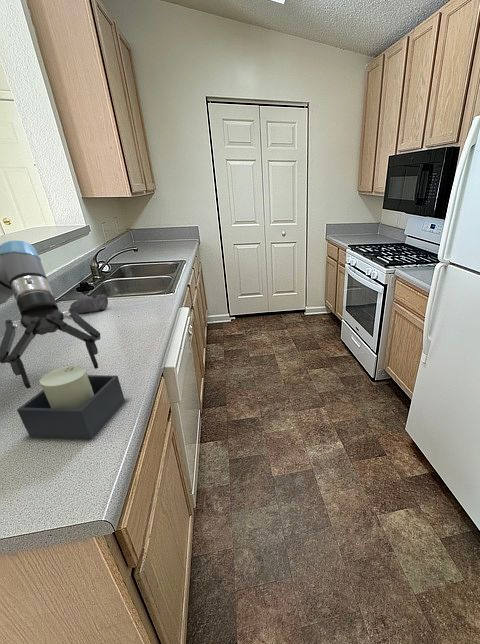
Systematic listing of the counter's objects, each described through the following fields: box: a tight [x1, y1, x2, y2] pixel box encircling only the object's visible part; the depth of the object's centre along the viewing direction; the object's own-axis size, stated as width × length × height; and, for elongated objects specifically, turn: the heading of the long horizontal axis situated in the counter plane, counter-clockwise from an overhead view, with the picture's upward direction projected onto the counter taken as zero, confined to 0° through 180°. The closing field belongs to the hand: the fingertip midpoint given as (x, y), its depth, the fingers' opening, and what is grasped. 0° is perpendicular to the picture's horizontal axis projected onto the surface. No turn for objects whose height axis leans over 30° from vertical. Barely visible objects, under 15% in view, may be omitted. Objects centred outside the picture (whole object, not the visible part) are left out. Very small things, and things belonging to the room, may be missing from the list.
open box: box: [16, 374, 126, 440], centre depth 80 cm, size 15×15×8 cm
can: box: [39, 364, 94, 409], centre depth 79 cm, size 9×9×12 cm
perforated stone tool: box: [70, 293, 109, 314], centre depth 148 cm, size 15×5×7 cm, turn 119°
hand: (63, 376), depth 78 cm, fingers open, 13 cm apart
